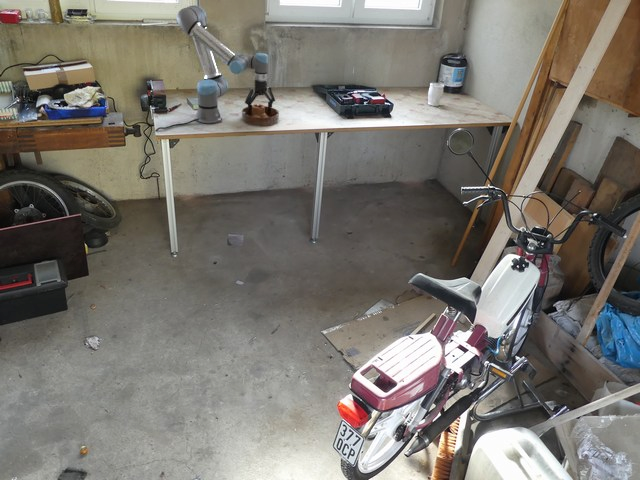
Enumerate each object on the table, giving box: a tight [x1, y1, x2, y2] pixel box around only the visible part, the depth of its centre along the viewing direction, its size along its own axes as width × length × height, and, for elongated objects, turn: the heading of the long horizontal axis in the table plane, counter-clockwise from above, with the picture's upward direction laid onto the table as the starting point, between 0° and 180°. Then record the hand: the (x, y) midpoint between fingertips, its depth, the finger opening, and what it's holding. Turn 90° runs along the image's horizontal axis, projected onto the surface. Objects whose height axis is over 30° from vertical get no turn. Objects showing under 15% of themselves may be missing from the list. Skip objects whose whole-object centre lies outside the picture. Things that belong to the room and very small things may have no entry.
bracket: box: [251, 103, 268, 118], centre depth 335 cm, size 18×8×7 cm, turn 20°
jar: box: [427, 82, 445, 107], centre depth 391 cm, size 11×10×15 cm
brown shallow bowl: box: [241, 105, 280, 127], centre depth 335 cm, size 23×23×6 cm
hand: (259, 113), depth 334 cm, fingers open, 13 cm apart
